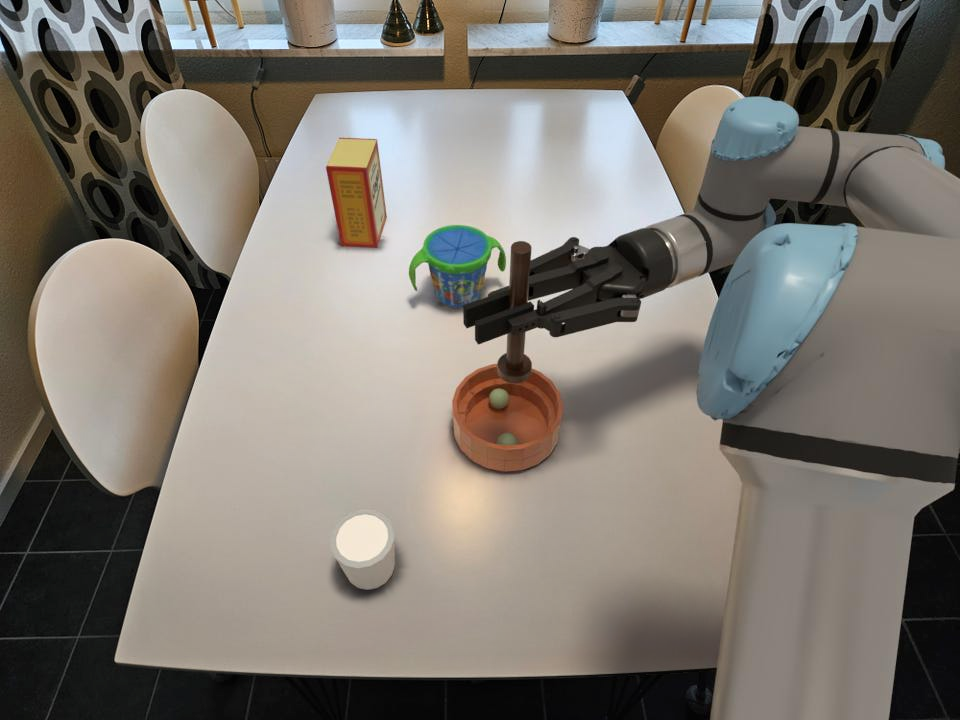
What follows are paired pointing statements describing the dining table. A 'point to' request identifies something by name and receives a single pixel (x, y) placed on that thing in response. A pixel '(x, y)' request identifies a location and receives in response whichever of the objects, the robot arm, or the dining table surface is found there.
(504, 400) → the bead
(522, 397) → the bowl
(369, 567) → the white cup
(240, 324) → the dining table surface
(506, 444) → the bead
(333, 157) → the baking soda box
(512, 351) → the stick
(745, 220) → the robot arm
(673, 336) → the dining table surface
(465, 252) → the snack cup
